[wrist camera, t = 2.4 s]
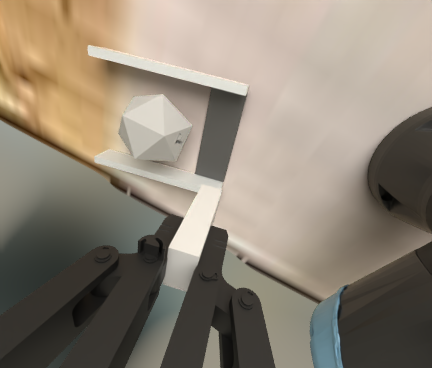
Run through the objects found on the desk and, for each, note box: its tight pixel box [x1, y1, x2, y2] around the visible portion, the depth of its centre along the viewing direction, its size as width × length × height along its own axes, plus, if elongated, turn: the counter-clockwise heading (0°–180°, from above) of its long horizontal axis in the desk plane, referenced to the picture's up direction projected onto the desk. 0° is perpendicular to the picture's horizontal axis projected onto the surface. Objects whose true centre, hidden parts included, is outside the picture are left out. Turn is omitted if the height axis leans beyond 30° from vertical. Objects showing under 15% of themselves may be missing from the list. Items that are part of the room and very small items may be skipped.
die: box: [118, 94, 192, 162], centre depth 28 cm, size 8×9×10 cm
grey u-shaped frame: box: [88, 45, 249, 193], centre depth 30 cm, size 19×15×4 cm
